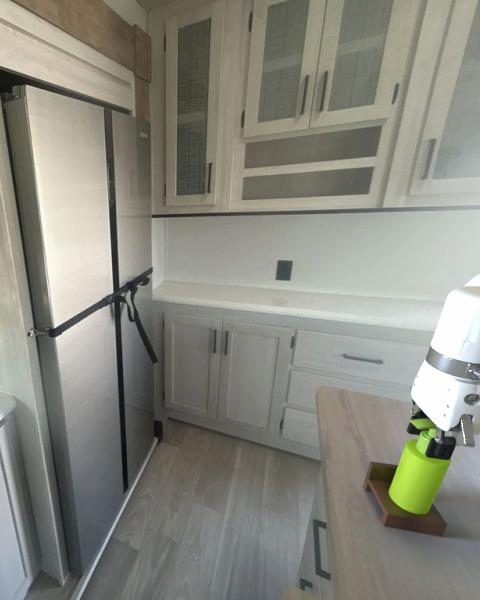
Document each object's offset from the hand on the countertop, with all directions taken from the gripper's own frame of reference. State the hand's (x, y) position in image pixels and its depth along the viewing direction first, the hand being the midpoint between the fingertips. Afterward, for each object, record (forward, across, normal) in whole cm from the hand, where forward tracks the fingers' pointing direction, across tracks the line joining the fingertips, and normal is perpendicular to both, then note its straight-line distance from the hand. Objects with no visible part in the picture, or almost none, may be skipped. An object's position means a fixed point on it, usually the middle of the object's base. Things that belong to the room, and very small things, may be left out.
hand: (426, 444), depth 60 cm
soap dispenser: (+15, 0, 0) cm, 15 cm away
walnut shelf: (+20, 0, 0) cm, 20 cm away
